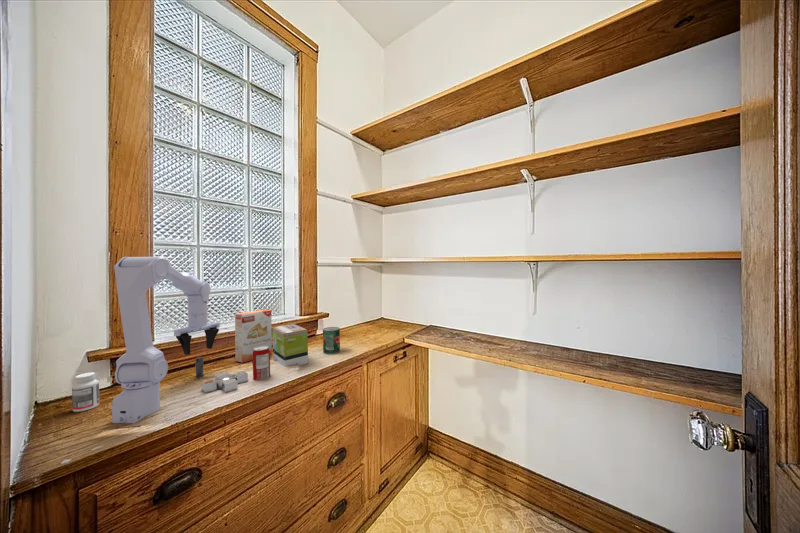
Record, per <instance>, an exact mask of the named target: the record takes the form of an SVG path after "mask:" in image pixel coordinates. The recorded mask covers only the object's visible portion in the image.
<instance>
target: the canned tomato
mask: <svg viewBox="0 0 800 533" xmlns="http://www.w3.org/2000/svg"><path fill="white" fill-rule="evenodd" d="M340 329H341V328H340V327H339V326H338V327H337V326H329V327H323V328H322V353H323V354H324V355H335V354H338V353H340V352H341V331H340Z"/></svg>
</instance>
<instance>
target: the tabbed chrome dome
mask: <svg viewBox="0 0 800 533" xmlns="http://www.w3.org/2000/svg"><path fill="white" fill-rule="evenodd" d="M248 374H249V373H248V372H246V371H245V370H244V371H240V372H236V373H232V374H231V373H228V371H223V372H219V373H215V374H214V375H213V376H214V378H213V379H212V378H211V379H207V380H204V381H201V391H202V392H203V393H204V394H207V393H210V392H214V391H216V390H222V391H223V393H228V392H232V391H235V390H238V389H239V388H238V384H242V383H245V382H249V375H248Z"/></svg>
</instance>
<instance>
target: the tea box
mask: <svg viewBox="0 0 800 533" xmlns="http://www.w3.org/2000/svg"><path fill="white" fill-rule="evenodd" d="M271 337H272V358H273V359H272V360H273V361H274V362H278V363H280V364H281V365H283V367H287V366H292V365H296V364H297V367H301V366H304V365H307V364H309V355H308V354H309V344H308V343H309V342H308V337H309V336H308V329H306V328H304V327H302V326H300V325H298V324H295V323H291V324H287V325H286V324H285V325H280V326H276V327H272V326H271Z"/></svg>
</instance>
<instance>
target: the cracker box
mask: <svg viewBox="0 0 800 533" xmlns="http://www.w3.org/2000/svg"><path fill="white" fill-rule="evenodd" d="M234 335H235V336H234V337H235V338H234V341H235V342H234V343H235V345H234V350H235V354H234V356H235V357H234V358H235V362H239V363H241V364H243V363H246V362H250V361H253V350H254V348H256V347H260V346H268V347H269V350H270V356H271V355H273V339H272V310H271V309H260V310H251V311H250V310H249V311H244V312H238V313H237V312H236V313H234Z"/></svg>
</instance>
